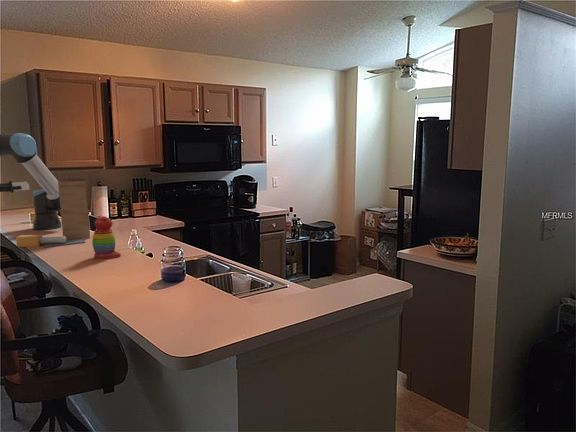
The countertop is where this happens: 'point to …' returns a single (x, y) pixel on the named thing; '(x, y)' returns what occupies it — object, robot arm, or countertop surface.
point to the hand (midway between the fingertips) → (28, 185)
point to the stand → (74, 208)
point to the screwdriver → (37, 240)
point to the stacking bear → (104, 239)
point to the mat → (68, 242)
